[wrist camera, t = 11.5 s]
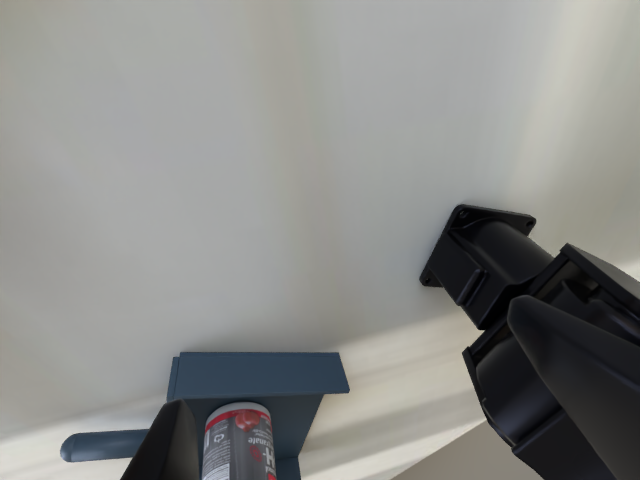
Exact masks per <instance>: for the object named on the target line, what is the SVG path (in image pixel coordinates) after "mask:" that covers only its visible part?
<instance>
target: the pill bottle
mask: <svg viewBox="0 0 640 480" xmlns="http://www.w3.org/2000/svg"><path fill="white" fill-rule="evenodd" d="M202 480H277V479H276V469H275V457H274V447H273V437H272V426H271V418H270V413H269V411H268V410H267V409H266V408H265V407H264V406H262V405H260V404H257V403H253V402H235V403H231V404H227V405H224V406H222V407H220V408H218V409H217V410H216V411H214V412H213V413H212V414H211V415H210V416H209V417H208V419H207V421H206V426H205V438H204V456H203V470H202Z"/></svg>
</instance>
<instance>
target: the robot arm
mask: <svg viewBox="0 0 640 480" xmlns="http://www.w3.org/2000/svg"><path fill="white" fill-rule="evenodd" d="M462 211H463V213H462V214H460V213H461V212H462ZM535 223H536V219H535V218H534V217H532V216H531V215H527V214H521V213H514V212H508V211H502V210H496V209H490V208H483V207H477V206H471V205H465V204H461V205H458V206H457V207H456V208H455V209H454V210H453V212H452V214H451V216H450V218H449V220H448V222H447V224H446V226H445V228H444V230H443V232H442V234H441V236H440V238H439V240H438V242H437V244H436V246H435V248H434V250H433V252H432V254H431V256H430V258H429V260H428V262H427V264H426V266H425V268H424V270H423V272H422V274H421V276H420V282H421V283H422V285H423V286H428V287H442V288H444V289H445V290H446V291H447V293H448V294H449V295H450V297H451V298H452V299H453V301H454V302H455V303H456V305H458V306H461V307H462V309H463V310H464V311H465V313H466V314H467V315H468V317H469V318H470V319H471V321H472V322H473V323H474V325H475V326H476V327H477V329H478V330H485V331H484V332H483V333H482V335H481V336H480V337H479V338H478V339H477V340H476V341H475V342H474V343H473V344H472V345H471V346H470V347H467V348H466V349H465V350H464V351H463V352H462V355H463V358H464V361H465V364H466V366H467V369H468V372H469V375H470V377H471V380H472V383H473V385H474V388H475V391H476V394H477V396H478V399H479V402H480V405H481V407H482V410H483V412H484V414H485V416H486V418H487V421H488V423H489V424H490V426H491V427H492V428H493V429H494V430H495V431H496V432H497V434H498V435H499V436H500V437H501V438H502V439H503V440H504V441H505V442H506V443H507V444H508V445H509V446H510V447H512V448H511V449H512V452H513V453H514V455H515V456H516V457H518V458H519V459H520V460H522V461H523V462H525V463H526V464H527V465H528V466H530V467H531V468H532V469H534V470H535V471H536V472H537V473H538V474H539V475H540V476H541V477H542V478H543V479H544V480H640V282H638V281H637V280H635V279H634V278H632V277H631V276H629V275H628V274H626V273H625V272H623V271H621V270H620V269H618V268H617V267H615V266H614V265H612V264H610V263H608V262H606V261H604V260H602V259H599V258H597V257H595V256H593V255H591V254H589V253H587V252H585V251H583V250H581V249H579V248H577V247H575V246H573V245H571V244H569V243H566V244H565V245H564V246H563V247H562V248H561V249H560V253H559V254H558V255H557V256H556V257H555V258H554V257H553V256H551V255H550V254H549V253H547V252H546V251H545V250H544V249H542V248H541V247H540V246H539V245H537V244H536V243H535V242H533V241H532V240H531V239H530V238H528V237H527V236H528V235H529V233H530V232H531V230H532V228H533V227H534V225H535ZM426 279H427V280H426ZM120 480H199V460H198V441H197V422H196V417H195V415H194V413H193V412H192V410H191V409H190V408H189V406H188V405H187V404H186V403H185V401H184V400H183V399H176V400H173V401H169V402H167V403H165V404H164V405H163V407H162V408H161V410H160V412H159V413H158V415H157V417H156V419H155V420H154V422H153V424H152V426H151V427H150V429H149V431H148V432H147V434H146V436H145V438H144V439H143V441H142V443H141V445H140V446H139V448H138V450H137V451H136V453H135V455H134V457H133V458H132V460H131V462H130V464H129V465H128V467H127V469H126V471H125V472H124V474H123V476H122V477H121V479H120Z"/></svg>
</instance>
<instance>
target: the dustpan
mask: <svg viewBox="0 0 640 480" xmlns="http://www.w3.org/2000/svg"><path fill="white" fill-rule="evenodd" d="M349 391H350V388H349V385H348V382H347V379H346V375H345V372H344V369H343V366H342V362H341V359H340V356H339V353H196V352H181V353H180V358H179V357H174V358H173V363H172V369H171V375H170V381H169V387H168V393H167V402H169V401H173V400H176V399H183V400H184V401H185V403H186V404H187V405H188V406H189V408H190V409H191V410H192V412H193V413H194V415H195V417H196V422H197V441H198V460H199V480H202V470H203V456H204V438H205V426H206V421H207V419H208V417H209V416H210V415H211V414H212V413H213V412H214V411H216V410H217V409H218V408H220V407H222V406H224V405H227V404H231V403H235V402H253V403H257V404H260V405H262V406H264V407H265V408H266V409H267V410H268V411H269V413H270V418H271V426H272V437H273V447H274V457H275V469H276V479H277V480H301V476H300V469H299V462H298V455H299V453H300V450H301V448H302V446H303V443H304V441H305V438H306V436H307V434H308V431H309V429H310V426H311V424H312V422H313V419H314V417H315V414H316V412H317V410H318V407H319V405H320V402H321V400H322V398H323V395H324V394H339V393H349ZM148 431H149V429H140V430H123V431H107V432H90V433H77V434H73V435H71V436H70V437H68V438H67V439H66V440H65V441H64V443H63V444H62V446H61V450H60V454H61V457H62V459H63V460H65V461H66V462H82V461H94V460H107V459H119V458H131V457H134V455H135V453H136V451H137V450H138V448H139V446H140V445H141V443H142V441H143V439H144V438H145V436H146V434H147V432H148Z"/></svg>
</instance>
